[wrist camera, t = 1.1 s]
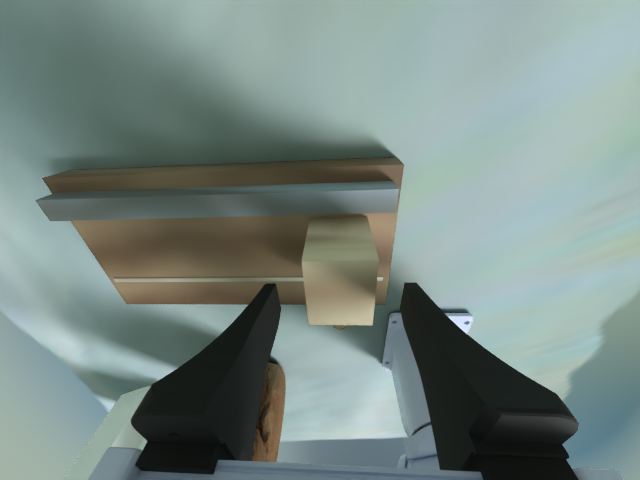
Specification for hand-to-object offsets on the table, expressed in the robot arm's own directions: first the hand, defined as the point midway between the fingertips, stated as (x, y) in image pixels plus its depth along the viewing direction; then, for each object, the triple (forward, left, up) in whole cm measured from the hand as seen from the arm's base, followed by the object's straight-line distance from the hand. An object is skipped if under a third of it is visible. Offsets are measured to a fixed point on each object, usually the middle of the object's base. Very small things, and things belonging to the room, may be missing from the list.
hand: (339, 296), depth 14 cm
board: (0, +8, -7) cm, 11 cm away
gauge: (-2, 0, -5) cm, 6 cm away
